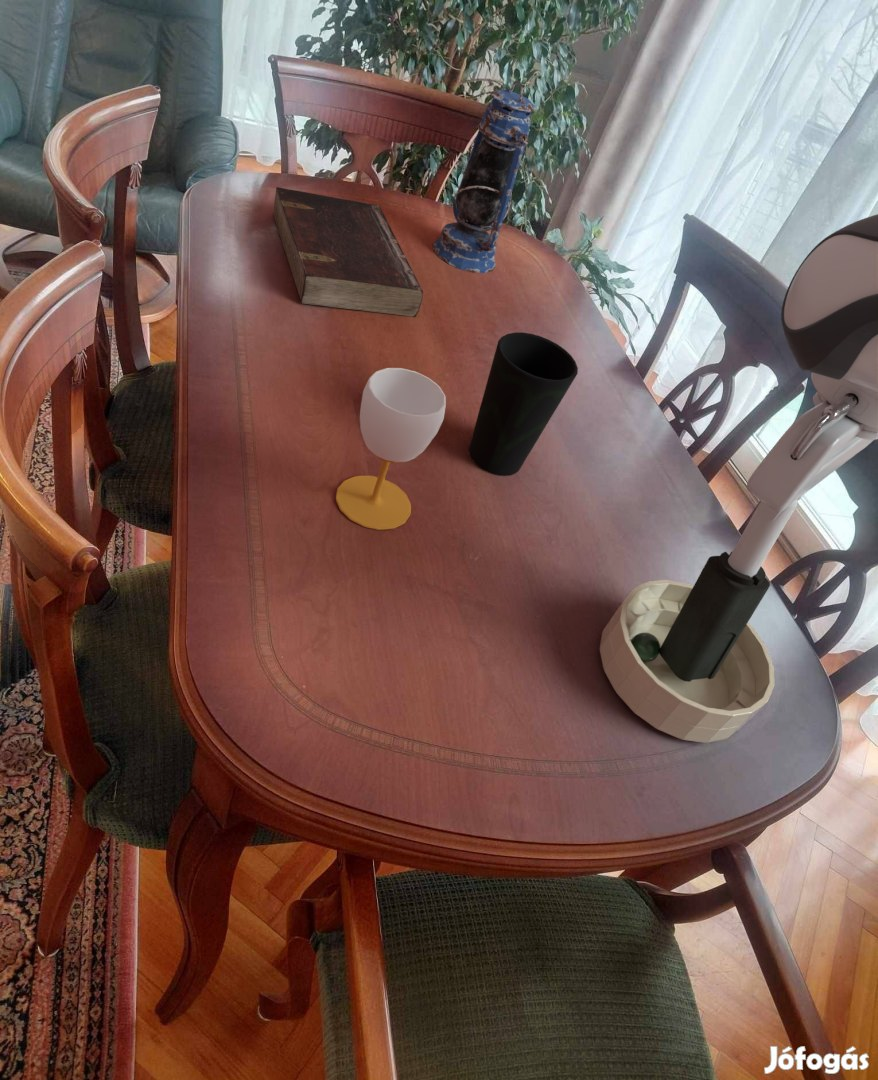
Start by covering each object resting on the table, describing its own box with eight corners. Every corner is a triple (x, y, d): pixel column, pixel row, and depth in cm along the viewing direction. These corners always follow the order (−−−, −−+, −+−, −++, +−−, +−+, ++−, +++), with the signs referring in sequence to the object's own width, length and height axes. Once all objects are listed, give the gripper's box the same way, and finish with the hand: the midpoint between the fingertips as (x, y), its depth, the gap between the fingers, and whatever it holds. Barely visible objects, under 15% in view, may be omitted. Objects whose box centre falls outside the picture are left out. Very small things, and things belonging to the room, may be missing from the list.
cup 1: (417, 532, 90) (457, 423, 79) (339, 528, 87) (371, 413, 76) (404, 479, 96) (440, 371, 85) (331, 473, 93) (359, 360, 82)
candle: (680, 682, 81) (798, 480, 67) (654, 648, 84) (761, 449, 70) (719, 678, 83) (841, 481, 69) (691, 644, 86) (802, 450, 72)
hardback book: (417, 317, 125) (425, 288, 122) (301, 305, 118) (306, 275, 114) (375, 230, 143) (381, 203, 140) (272, 215, 136) (276, 186, 132)
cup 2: (492, 491, 99) (538, 388, 88) (443, 442, 104) (481, 338, 93) (545, 471, 105) (594, 373, 95) (497, 426, 110) (538, 327, 99)
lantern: (510, 278, 145) (574, 107, 125) (454, 276, 139) (511, 96, 119) (473, 236, 154) (527, 70, 133) (418, 233, 148) (466, 58, 127)
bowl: (744, 772, 79) (777, 742, 75) (586, 704, 79) (611, 671, 75) (742, 650, 92) (771, 618, 88) (607, 592, 92) (629, 558, 88)
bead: (650, 672, 84) (664, 655, 82) (623, 661, 84) (636, 643, 82) (652, 651, 86) (666, 633, 84) (626, 639, 86) (639, 622, 84)
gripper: (863, 439, 55) (755, 570, 64) (944, 379, 68) (845, 494, 77) (788, 389, 57) (694, 521, 67) (880, 339, 71) (791, 456, 80)
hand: (776, 506), depth 72 cm, fingers closed on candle, 3 cm apart
